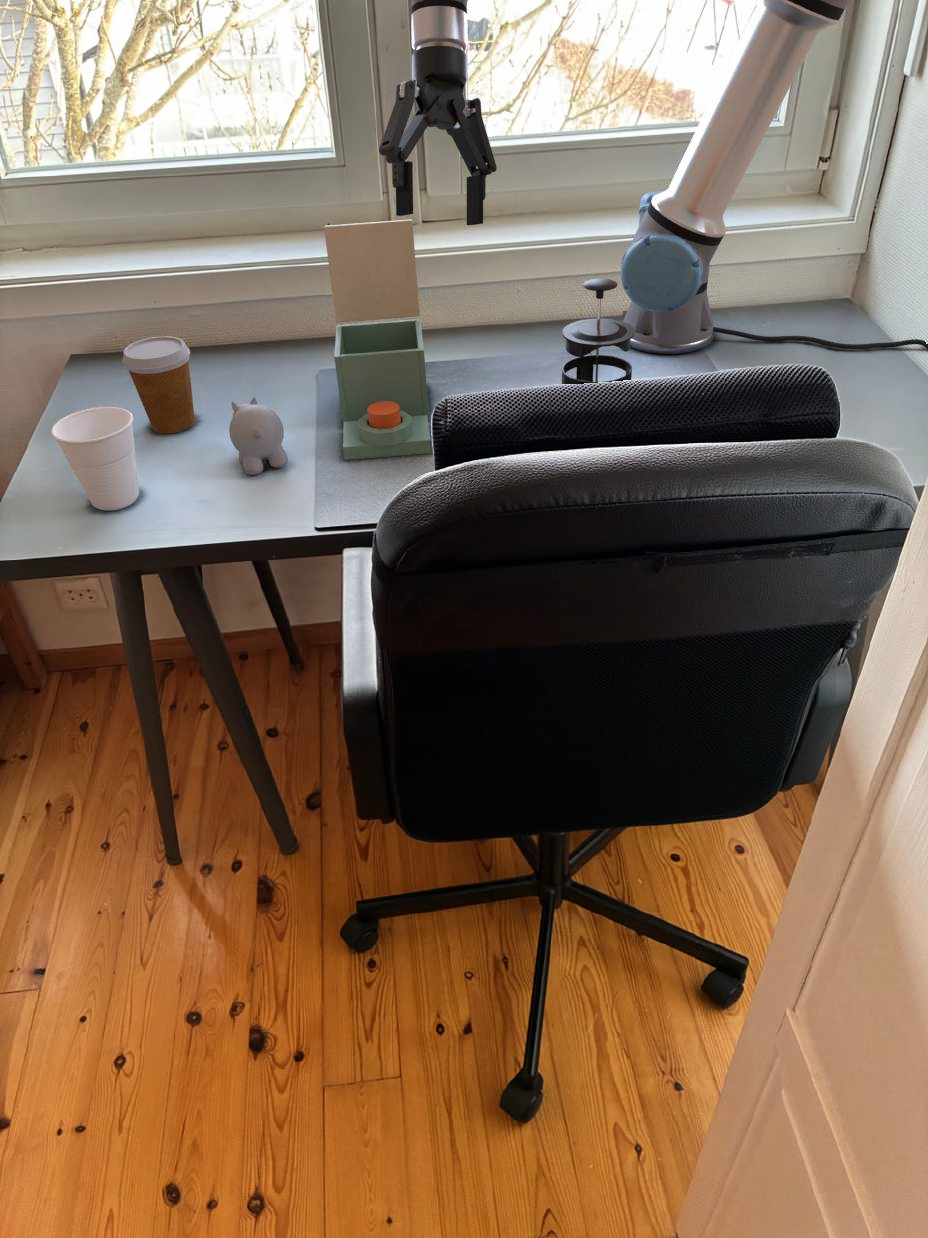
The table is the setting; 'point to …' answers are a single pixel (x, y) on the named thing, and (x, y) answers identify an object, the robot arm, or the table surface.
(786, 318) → the table surface
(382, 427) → the button
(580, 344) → the french press
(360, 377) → the coffee maker
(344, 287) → the lid
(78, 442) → the cup
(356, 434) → the control block
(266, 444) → the round bodied animal figurine
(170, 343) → the disposable coffee cup
